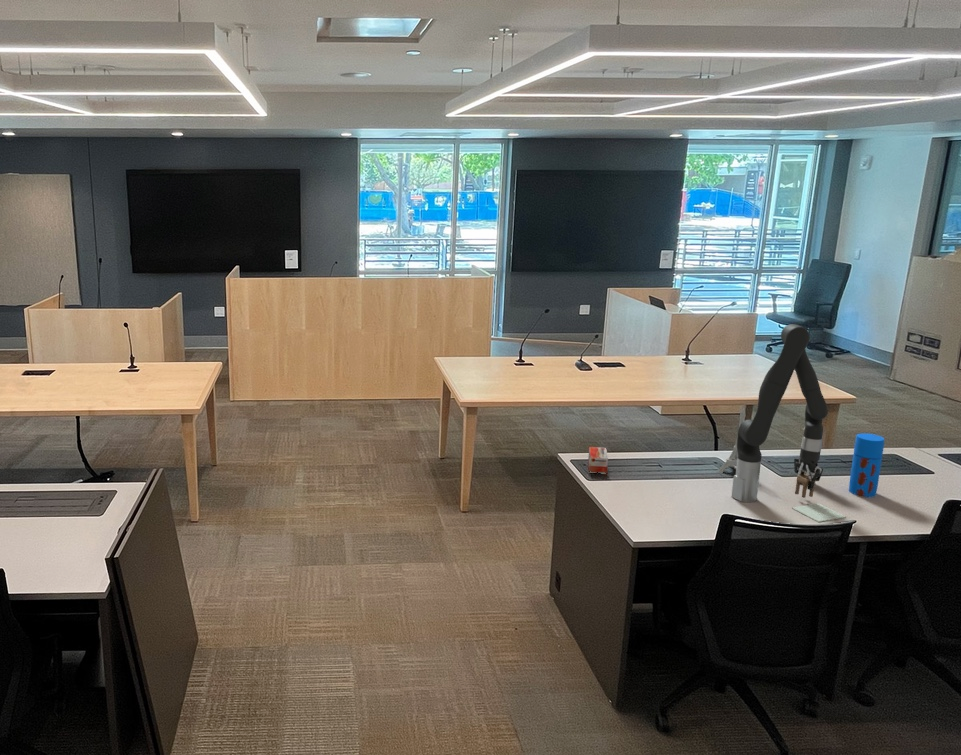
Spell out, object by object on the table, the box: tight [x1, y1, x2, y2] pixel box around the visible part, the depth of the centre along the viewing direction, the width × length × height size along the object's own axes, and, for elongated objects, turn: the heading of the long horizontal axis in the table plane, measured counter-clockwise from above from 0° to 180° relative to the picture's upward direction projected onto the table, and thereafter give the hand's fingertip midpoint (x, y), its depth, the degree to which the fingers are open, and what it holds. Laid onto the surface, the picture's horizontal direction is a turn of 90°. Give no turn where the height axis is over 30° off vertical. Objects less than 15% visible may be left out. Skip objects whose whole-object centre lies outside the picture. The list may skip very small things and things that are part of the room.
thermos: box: [848, 432, 885, 498], centre depth 322 cm, size 11×11×25 cm
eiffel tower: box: [716, 408, 747, 474], centre depth 344 cm, size 13×13×30 cm
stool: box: [794, 474, 816, 499], centre depth 313 cm, size 5×5×8 cm
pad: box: [791, 503, 847, 523], centre depth 303 cm, size 14×14×1 cm
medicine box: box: [587, 446, 609, 474], centre depth 346 cm, size 15×8×8 cm, turn 175°
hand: (805, 486), depth 313 cm, fingers closed on stool, 5 cm apart
